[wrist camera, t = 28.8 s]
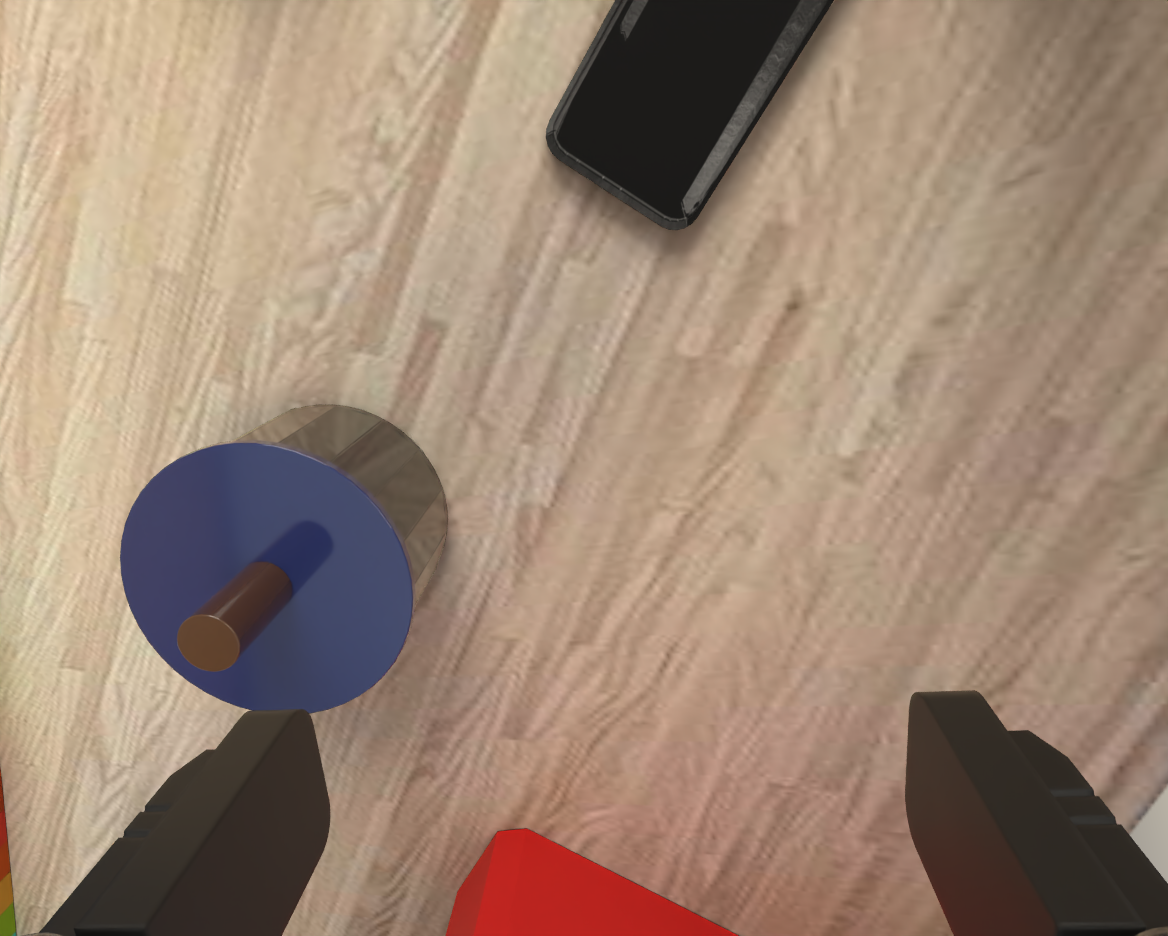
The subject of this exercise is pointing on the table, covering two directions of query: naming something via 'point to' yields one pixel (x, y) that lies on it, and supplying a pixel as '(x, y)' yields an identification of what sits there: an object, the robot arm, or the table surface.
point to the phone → (676, 96)
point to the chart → (5, 878)
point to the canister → (374, 471)
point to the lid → (268, 576)
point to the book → (560, 896)
